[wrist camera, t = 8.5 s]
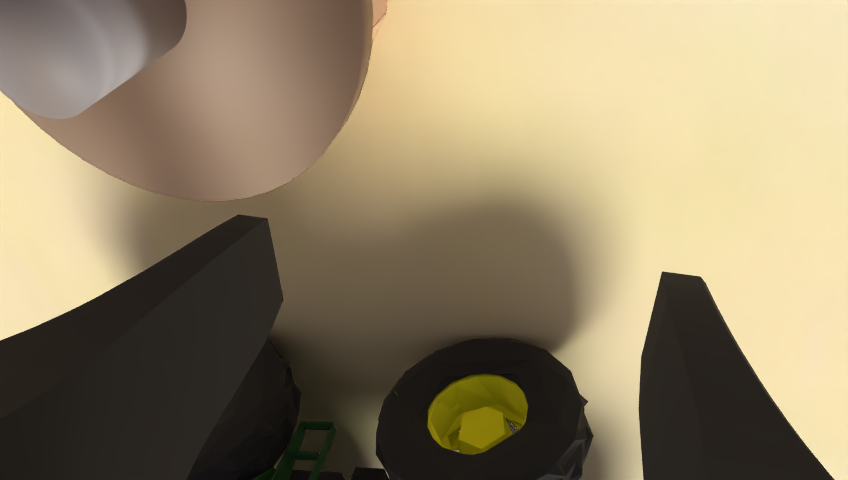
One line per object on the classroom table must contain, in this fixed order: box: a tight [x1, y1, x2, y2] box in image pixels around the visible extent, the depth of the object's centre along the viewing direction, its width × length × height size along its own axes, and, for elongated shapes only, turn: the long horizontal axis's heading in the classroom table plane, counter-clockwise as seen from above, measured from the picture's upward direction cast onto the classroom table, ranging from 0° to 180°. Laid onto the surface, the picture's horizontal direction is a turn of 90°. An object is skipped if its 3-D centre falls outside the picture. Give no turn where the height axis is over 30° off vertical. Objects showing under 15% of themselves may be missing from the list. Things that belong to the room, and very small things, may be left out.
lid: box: [0, 0, 373, 201], centre depth 15 cm, size 12×12×4 cm
